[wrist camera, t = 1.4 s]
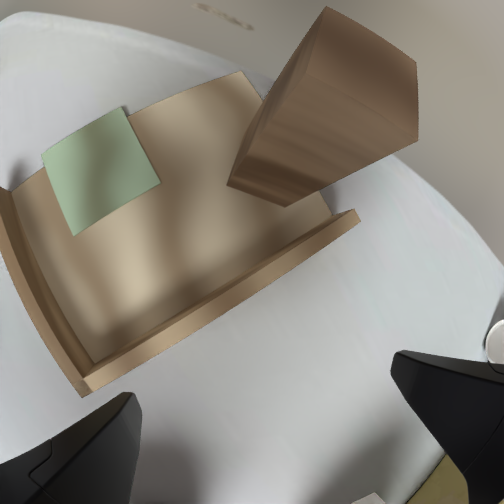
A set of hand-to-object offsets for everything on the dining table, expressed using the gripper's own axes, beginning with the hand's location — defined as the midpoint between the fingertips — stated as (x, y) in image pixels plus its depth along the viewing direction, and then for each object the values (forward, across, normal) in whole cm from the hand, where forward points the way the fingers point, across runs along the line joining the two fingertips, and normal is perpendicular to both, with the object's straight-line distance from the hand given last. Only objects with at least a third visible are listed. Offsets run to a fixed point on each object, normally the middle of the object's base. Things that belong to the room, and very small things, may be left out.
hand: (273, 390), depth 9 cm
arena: (+13, -5, +4) cm, 14 cm away
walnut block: (+14, +3, +6) cm, 16 cm away
